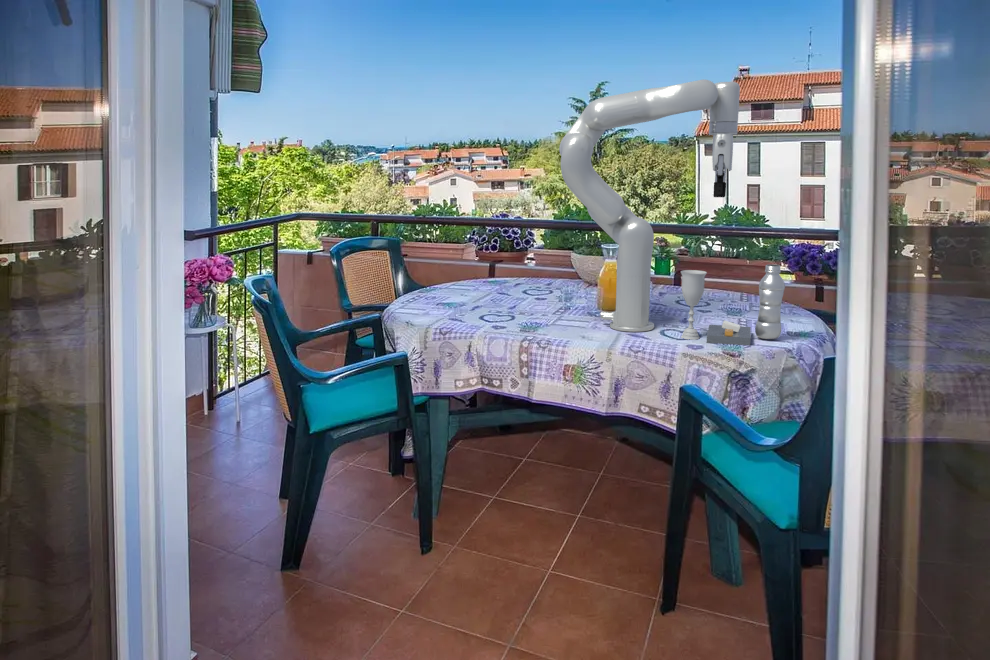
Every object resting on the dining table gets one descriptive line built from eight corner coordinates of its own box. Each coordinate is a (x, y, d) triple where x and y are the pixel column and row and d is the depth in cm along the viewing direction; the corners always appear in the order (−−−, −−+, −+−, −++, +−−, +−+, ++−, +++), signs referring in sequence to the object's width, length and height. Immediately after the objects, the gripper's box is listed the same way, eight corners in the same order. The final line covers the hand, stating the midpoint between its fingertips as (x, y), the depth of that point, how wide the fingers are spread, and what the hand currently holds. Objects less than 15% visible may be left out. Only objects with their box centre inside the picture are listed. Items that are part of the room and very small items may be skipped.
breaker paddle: (721, 327, 205) (723, 322, 205) (722, 324, 208) (723, 320, 207) (738, 332, 204) (739, 327, 203) (738, 329, 207) (739, 325, 206)
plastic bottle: (759, 335, 210) (764, 263, 206) (784, 338, 206) (790, 265, 201) (750, 339, 205) (755, 265, 201) (776, 342, 201) (781, 267, 196)
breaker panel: (706, 342, 202) (707, 330, 201) (709, 331, 215) (709, 320, 214) (750, 345, 198) (751, 333, 198) (750, 333, 211) (750, 322, 211)
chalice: (708, 339, 205) (711, 273, 201) (684, 341, 204) (688, 274, 200) (695, 333, 212) (699, 269, 208) (672, 335, 210) (675, 270, 207)
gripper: (737, 128, 201) (732, 198, 205) (737, 130, 215) (733, 196, 219) (707, 128, 203) (703, 198, 207) (710, 130, 217) (706, 195, 221)
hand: (719, 197), depth 213 cm, fingers closed
